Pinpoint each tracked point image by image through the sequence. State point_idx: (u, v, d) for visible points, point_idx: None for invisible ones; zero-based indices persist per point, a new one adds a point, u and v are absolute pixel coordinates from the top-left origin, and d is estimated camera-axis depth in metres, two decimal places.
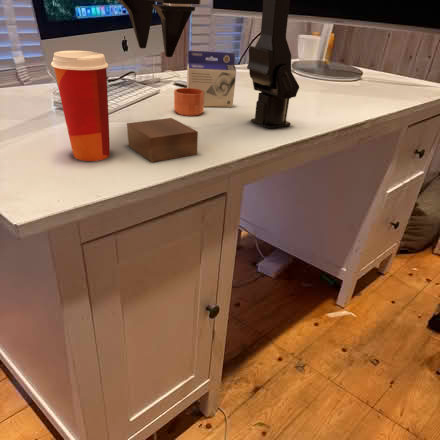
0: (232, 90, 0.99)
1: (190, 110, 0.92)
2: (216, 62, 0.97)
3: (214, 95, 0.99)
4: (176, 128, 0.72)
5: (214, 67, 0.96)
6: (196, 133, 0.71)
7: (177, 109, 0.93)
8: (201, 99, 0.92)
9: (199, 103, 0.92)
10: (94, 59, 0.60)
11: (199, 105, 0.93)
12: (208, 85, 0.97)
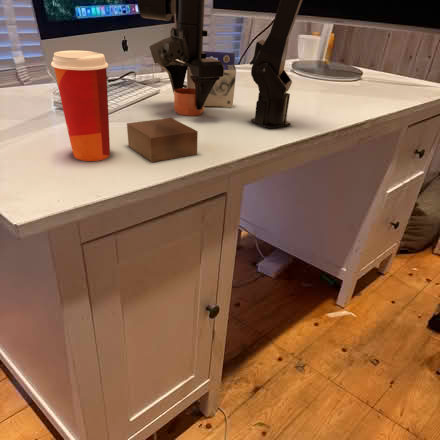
0: (232, 90, 0.99)
1: (190, 110, 0.92)
2: None
3: (214, 95, 0.99)
4: (176, 128, 0.72)
5: None
6: (196, 133, 0.71)
7: (177, 109, 0.93)
8: None
9: None
10: (94, 59, 0.60)
11: None
12: None
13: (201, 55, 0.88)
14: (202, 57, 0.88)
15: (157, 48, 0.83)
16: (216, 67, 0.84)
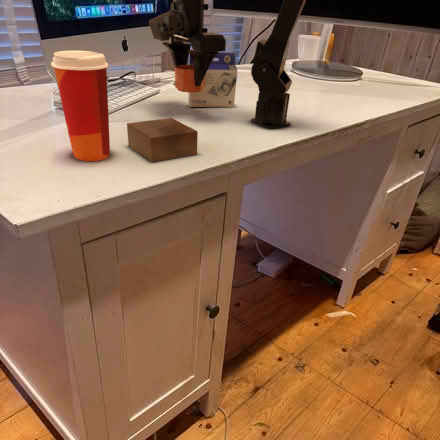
0: (233, 90, 1.00)
1: (191, 86, 0.90)
2: (217, 62, 0.96)
3: (216, 95, 0.99)
4: (176, 128, 0.72)
5: (215, 67, 0.96)
6: (196, 133, 0.71)
7: (178, 86, 0.90)
8: None
9: None
10: (94, 59, 0.60)
11: None
12: (210, 85, 0.97)
13: (202, 30, 0.85)
14: (203, 32, 0.85)
15: (156, 22, 0.81)
16: (218, 41, 0.81)
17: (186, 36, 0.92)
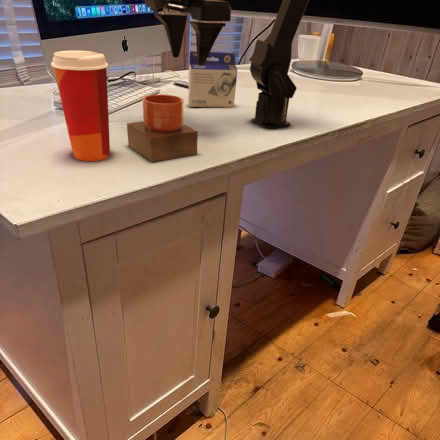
0: (233, 90, 1.00)
1: (164, 125, 0.69)
2: (217, 62, 0.96)
3: (216, 95, 0.99)
4: None
5: (215, 67, 0.96)
6: (196, 133, 0.71)
7: (147, 123, 0.70)
8: (179, 110, 0.69)
9: (176, 115, 0.69)
10: (94, 59, 0.60)
11: (176, 118, 0.69)
12: (210, 85, 0.97)
13: None
14: None
15: None
16: (221, 8, 0.69)
17: None
